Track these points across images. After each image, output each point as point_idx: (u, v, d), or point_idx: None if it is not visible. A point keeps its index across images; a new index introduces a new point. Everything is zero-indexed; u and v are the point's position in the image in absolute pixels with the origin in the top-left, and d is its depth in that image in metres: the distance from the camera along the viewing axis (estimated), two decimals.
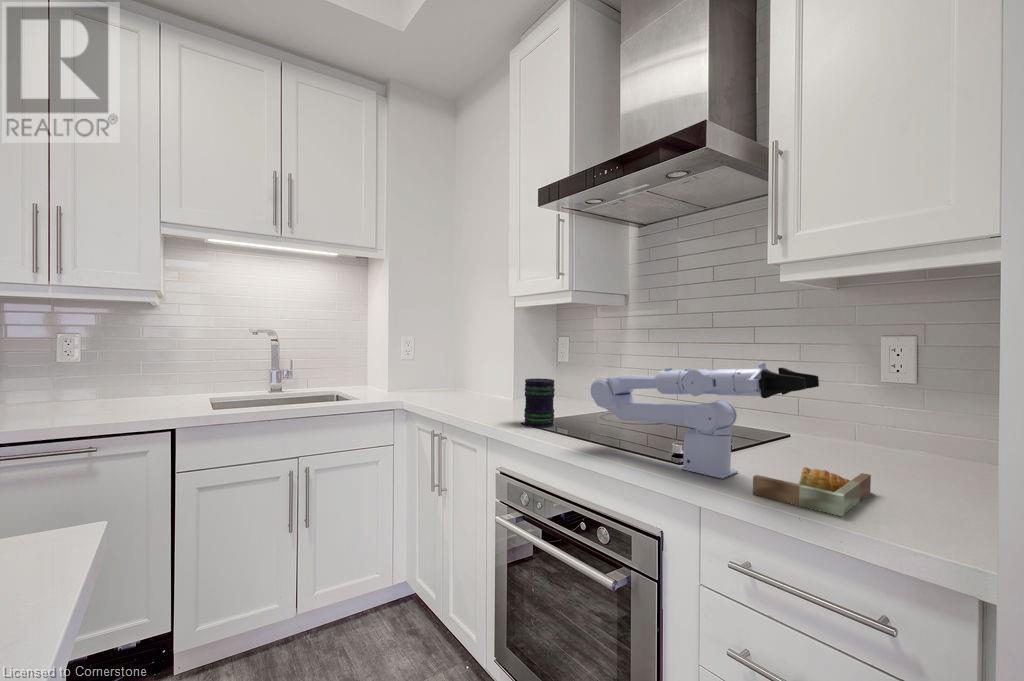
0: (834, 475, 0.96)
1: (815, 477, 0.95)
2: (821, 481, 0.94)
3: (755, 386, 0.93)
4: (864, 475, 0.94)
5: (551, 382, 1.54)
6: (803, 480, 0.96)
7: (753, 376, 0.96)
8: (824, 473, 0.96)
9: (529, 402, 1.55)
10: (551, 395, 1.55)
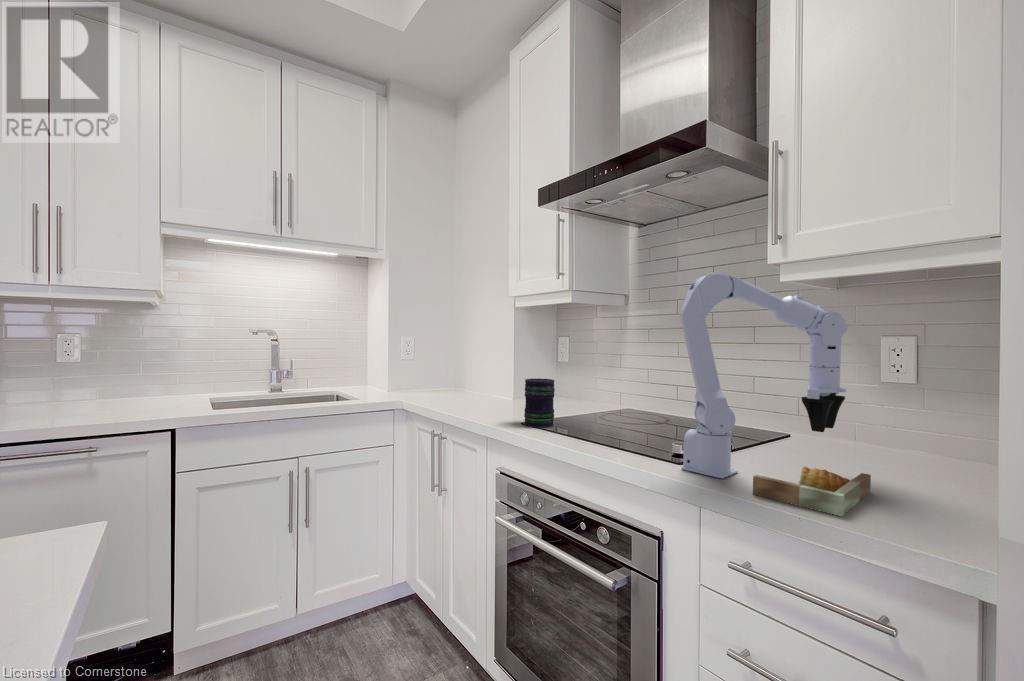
0: (833, 474, 0.96)
1: (815, 476, 0.96)
2: (821, 481, 0.95)
3: (810, 397, 0.99)
4: (864, 475, 0.94)
5: (551, 382, 1.54)
6: (803, 480, 0.97)
7: (824, 391, 0.99)
8: (824, 472, 0.96)
9: (529, 402, 1.55)
10: (551, 395, 1.55)
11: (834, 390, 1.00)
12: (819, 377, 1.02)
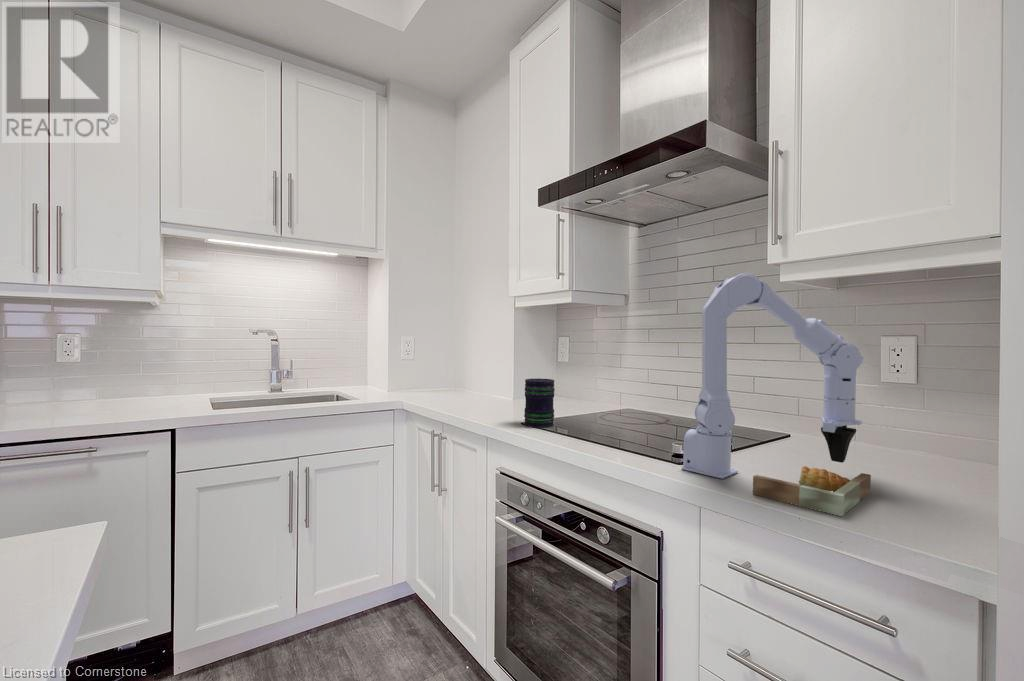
0: (833, 474, 0.96)
1: (815, 476, 0.96)
2: (821, 480, 0.95)
3: (826, 430, 0.98)
4: (864, 475, 0.94)
5: (551, 382, 1.54)
6: (803, 479, 0.97)
7: (840, 424, 0.99)
8: (823, 472, 0.97)
9: (529, 402, 1.55)
10: (551, 395, 1.55)
11: (849, 422, 1.00)
12: (834, 409, 1.01)
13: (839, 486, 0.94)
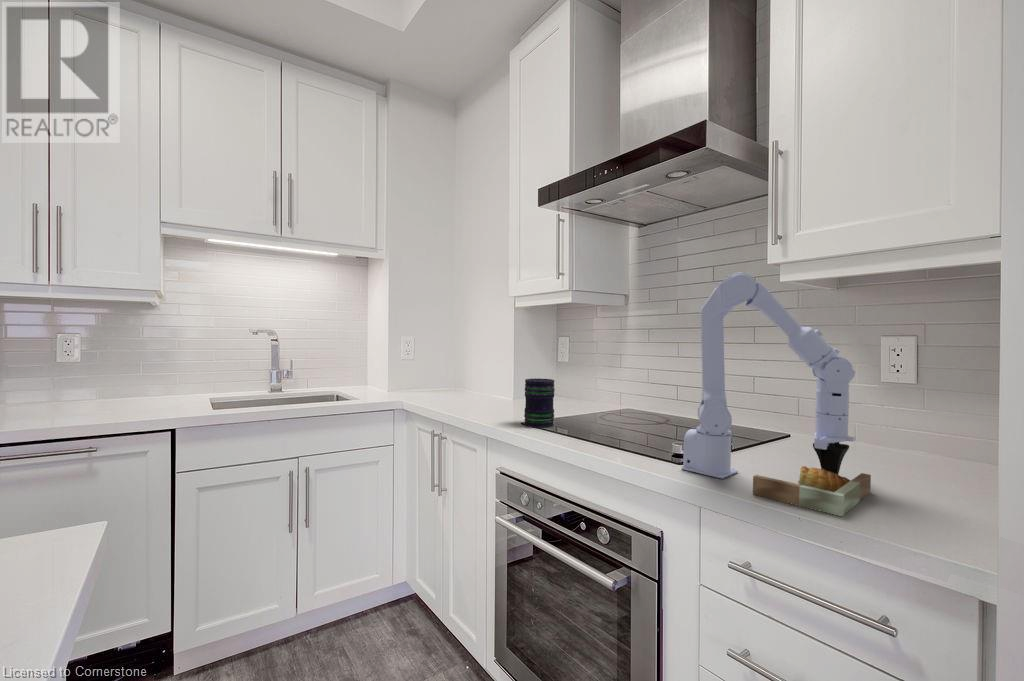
0: (832, 473, 0.96)
1: (814, 476, 0.96)
2: (821, 480, 0.95)
3: (817, 447, 0.95)
4: (864, 475, 0.94)
5: (551, 382, 1.54)
6: (803, 479, 0.97)
7: (832, 441, 0.95)
8: (823, 472, 0.96)
9: (529, 402, 1.55)
10: (551, 395, 1.55)
11: (842, 439, 0.97)
12: (826, 425, 0.98)
13: (839, 486, 0.94)
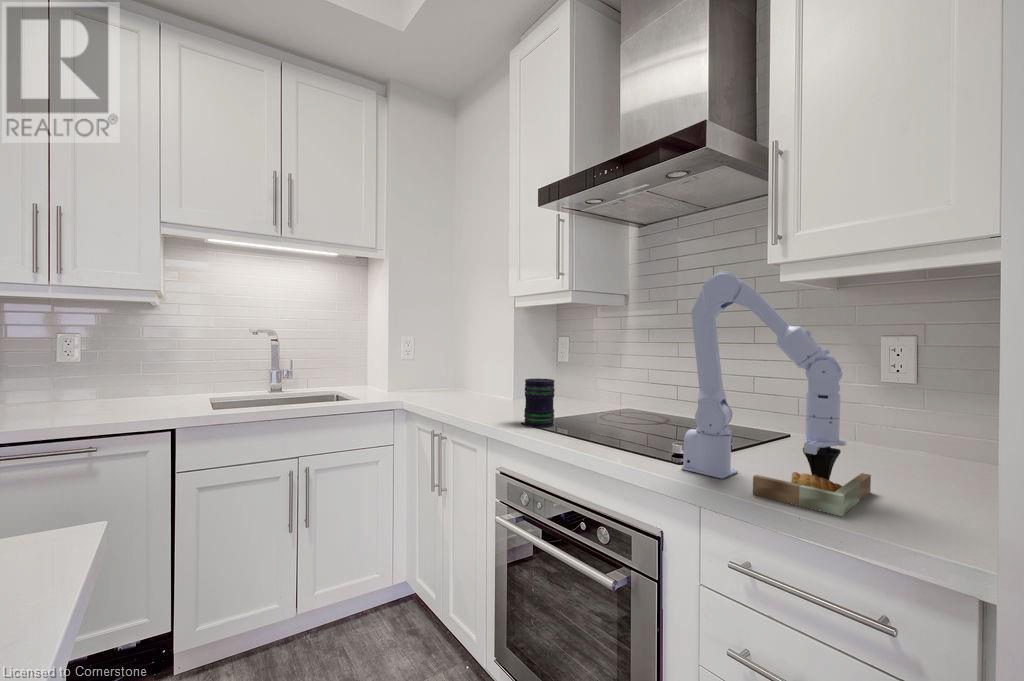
0: (825, 480, 0.92)
1: (806, 482, 0.91)
2: None
3: (807, 451, 0.91)
4: (864, 475, 0.94)
5: (551, 382, 1.54)
6: None
7: (822, 445, 0.91)
8: (815, 478, 0.92)
9: (529, 402, 1.55)
10: (551, 395, 1.55)
11: (833, 443, 0.92)
12: (817, 428, 0.94)
13: None
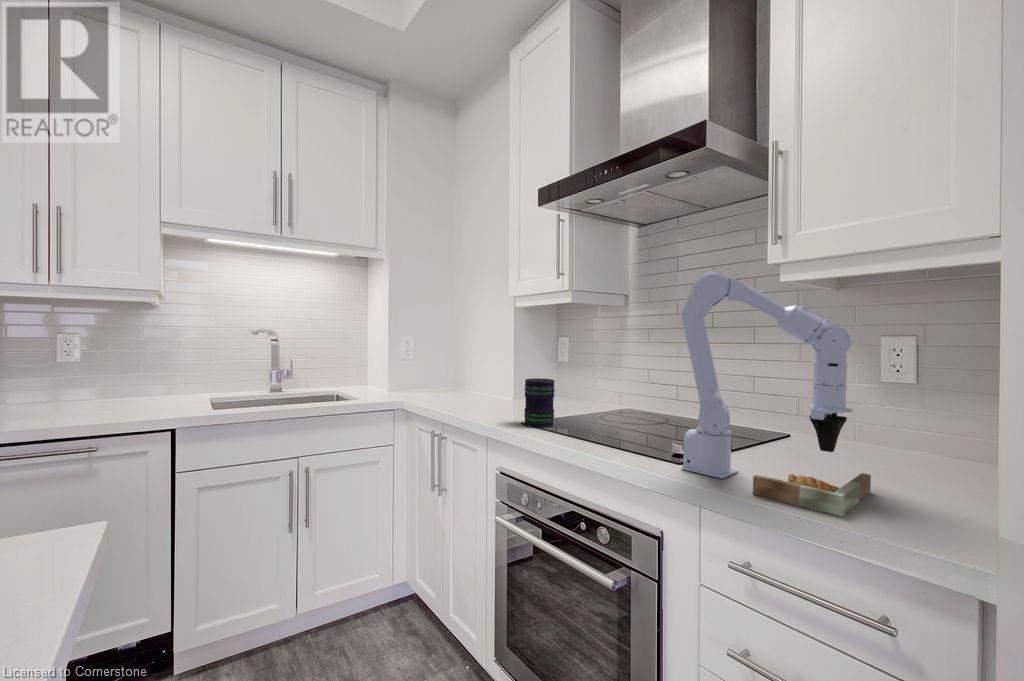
0: (821, 482, 0.91)
1: None
2: None
3: (814, 417, 0.94)
4: (864, 475, 0.94)
5: (551, 382, 1.54)
6: None
7: (829, 411, 0.94)
8: (811, 480, 0.91)
9: (529, 402, 1.55)
10: (551, 395, 1.55)
11: (839, 410, 0.95)
12: (824, 396, 0.96)
13: None
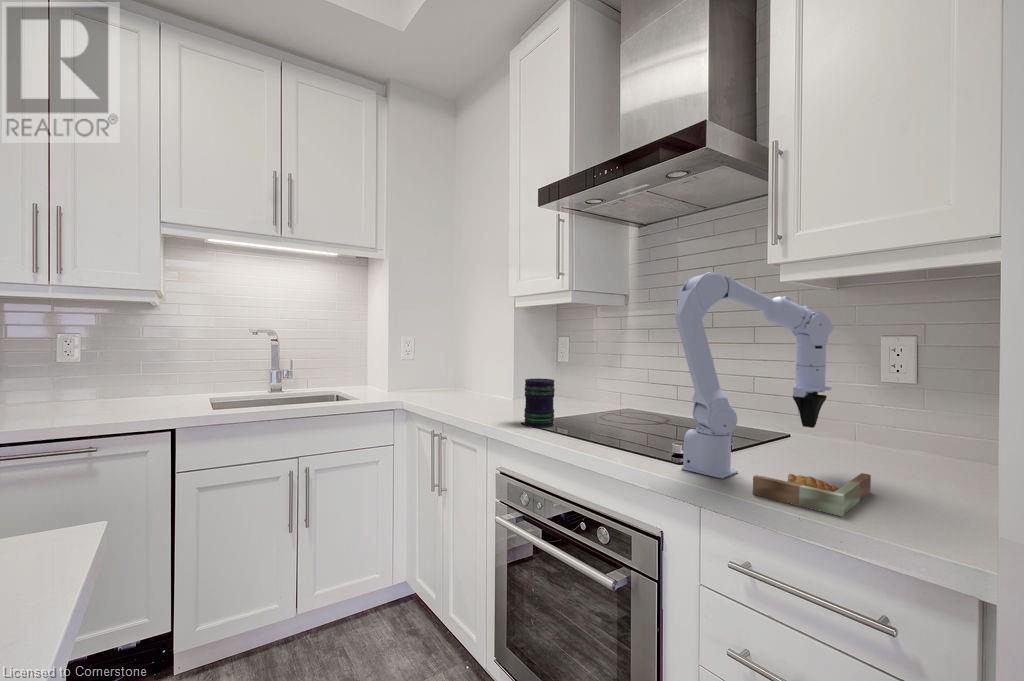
0: (821, 482, 0.91)
1: (802, 484, 0.90)
2: None
3: (796, 395, 1.02)
4: (864, 475, 0.94)
5: (551, 382, 1.54)
6: None
7: (809, 389, 1.02)
8: (811, 480, 0.91)
9: (529, 402, 1.55)
10: (551, 395, 1.55)
11: (819, 388, 1.03)
12: (805, 376, 1.05)
13: None
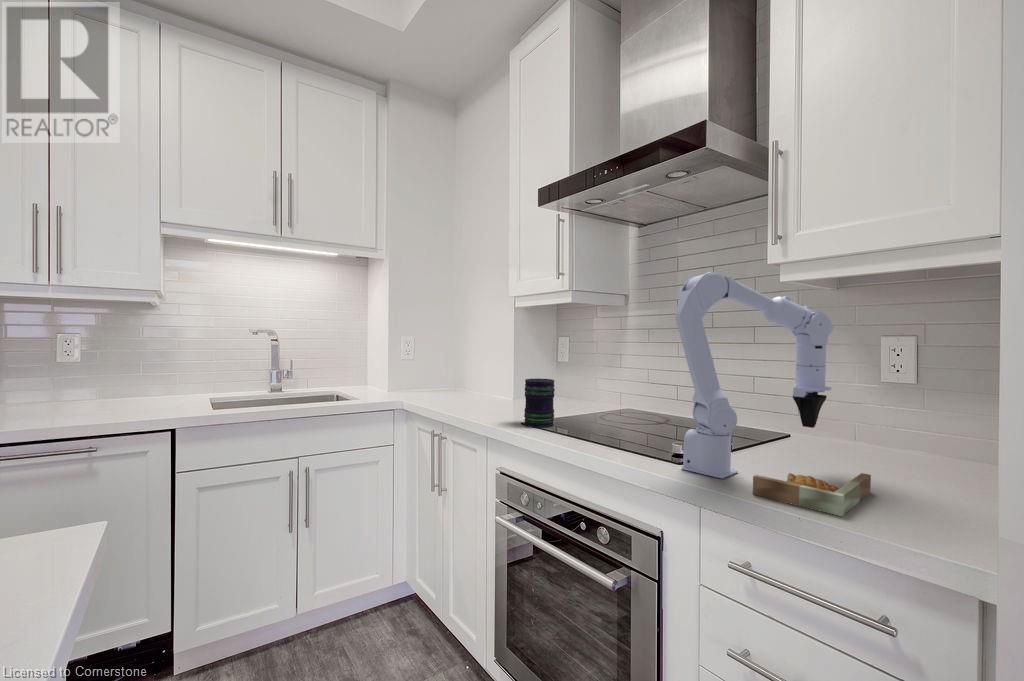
0: (820, 481, 0.91)
1: (802, 484, 0.91)
2: None
3: (796, 395, 1.02)
4: (864, 475, 0.94)
5: (551, 382, 1.54)
6: None
7: (809, 389, 1.02)
8: (810, 479, 0.91)
9: (529, 402, 1.55)
10: (551, 395, 1.55)
11: (819, 388, 1.03)
12: (805, 376, 1.05)
13: None
